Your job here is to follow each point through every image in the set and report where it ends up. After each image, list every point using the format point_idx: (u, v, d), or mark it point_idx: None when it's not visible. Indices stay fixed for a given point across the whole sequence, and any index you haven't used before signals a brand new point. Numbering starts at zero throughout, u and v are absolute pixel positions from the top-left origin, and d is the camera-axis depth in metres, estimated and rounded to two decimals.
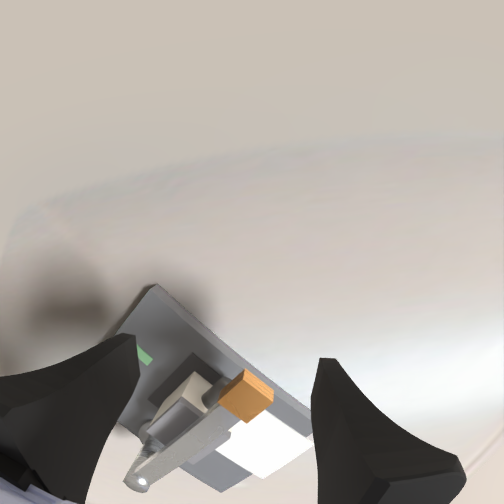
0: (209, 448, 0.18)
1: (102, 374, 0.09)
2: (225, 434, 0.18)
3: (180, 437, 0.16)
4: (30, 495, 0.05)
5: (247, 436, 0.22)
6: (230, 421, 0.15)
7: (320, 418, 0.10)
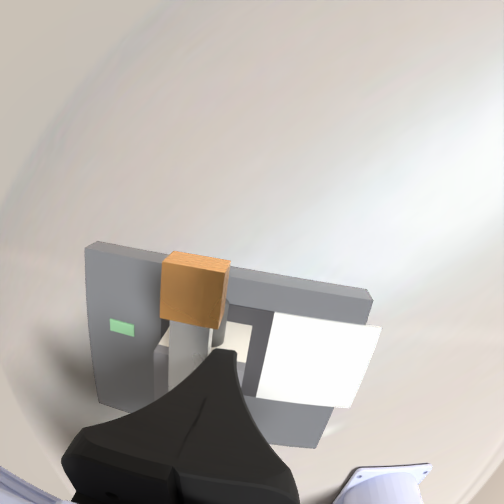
0: None
1: None
2: None
3: None
4: None
5: (293, 362, 0.17)
6: (199, 339, 0.11)
7: None
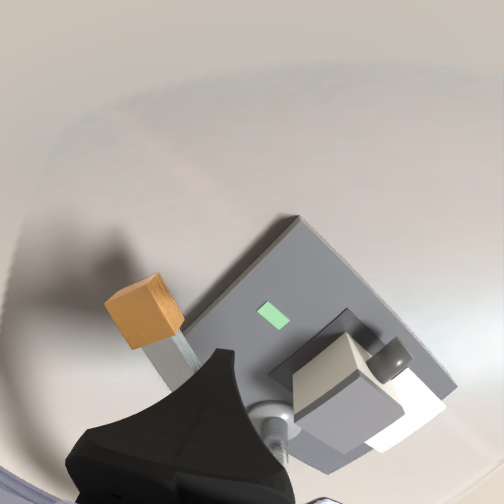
0: (375, 430, 0.14)
1: None
2: (401, 410, 0.13)
3: None
4: None
5: None
6: (172, 351, 0.11)
7: None
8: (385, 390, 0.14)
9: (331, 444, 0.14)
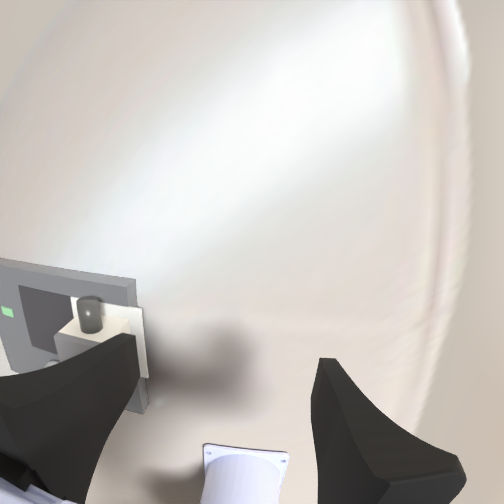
0: None
1: (102, 374, 0.09)
2: None
3: None
4: (30, 495, 0.05)
5: None
6: None
7: (320, 418, 0.10)
8: (88, 337, 0.18)
9: None
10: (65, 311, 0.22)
